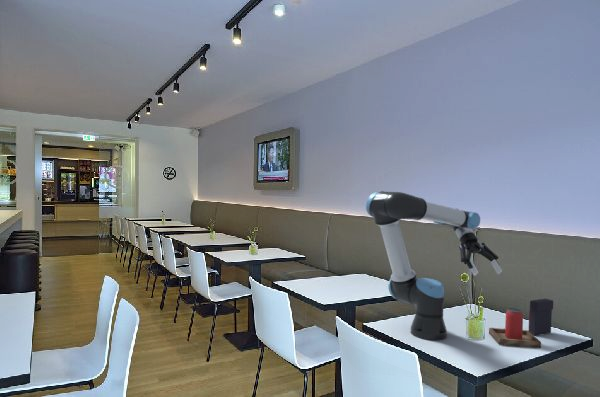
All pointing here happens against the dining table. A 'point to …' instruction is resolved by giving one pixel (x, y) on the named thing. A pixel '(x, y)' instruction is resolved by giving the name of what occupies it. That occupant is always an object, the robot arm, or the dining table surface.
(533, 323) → the dark grey upright block
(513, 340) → the walnut tray
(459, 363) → the dining table surface
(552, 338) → the dining table surface
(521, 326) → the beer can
